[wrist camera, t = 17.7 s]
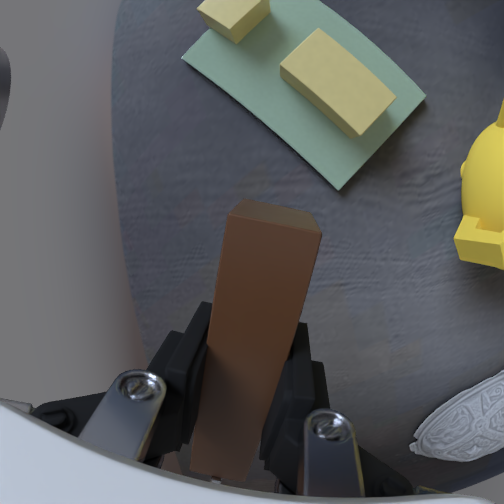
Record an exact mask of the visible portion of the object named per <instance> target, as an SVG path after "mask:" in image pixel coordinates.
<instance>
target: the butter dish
mask: <svg viewBox="0 0 504 504" xmlns="http://www.w3.org/2000/svg"><path fill="white" fill-rule="evenodd" d="M270 9H271V12H270V13H269V14H268V15H267V16H266V17H265V18H264V19H263V20H262V21H260V22H259V23H258V24H257V25H256V26H255V27H254V28H253V29H252V30H251V31H250V32H249V33H248V34H247V35H246V36H245V37H244V38H243V39H242V40H241V41H240V42H239V43H238V44H235V43H233V42H232V41H230V40H229V39H227V38H226V37H225V36H223V35H222V34H220V33H219V32H217V31H216V30H214V29H212V28H211V27H210V28H209V29H208V30H207V31H206V32H205V33H204V34H203V35H202V36H201V37H200V38H199V40H198V41H197V42H196V43H195V44H194V45H193V46H192V47H191V48H190V49H189V50H188V51H187V52H186V53H185V54H184V55H183V57H182V59H183V60H184V61H185V62H186V63H188V64H189V65H191V66H192V67H193V68H195V69H196V70H197V71H199V72H200V73H201V74H203V75H204V76H205V77H207V78H208V79H209V80H211V81H212V82H213V83H215V84H216V85H217V86H219V87H220V88H221V89H222V90H224V91H225V92H226V93H227V94H229V95H230V96H231V97H232V98H234V99H235V100H236V101H237V102H239V103H240V104H241V105H242V106H244V107H245V108H246V109H247V110H249V111H250V112H251V113H252V114H253V115H255V116H256V117H257V118H258V119H259V120H260V121H262V122H263V123H264V124H265V125H266V126H268V127H269V128H270V129H271V130H272V131H273V132H274V133H276V134H277V135H278V136H279V137H280V138H281V139H282V140H284V141H285V142H286V143H287V144H288V145H289V146H290V147H291V148H293V149H294V150H295V151H296V152H297V153H298V154H299V155H300V156H301V157H302V158H304V159H305V160H306V161H307V162H308V163H309V164H310V165H311V166H312V167H313V168H314V169H315V170H316V171H317V172H318V173H320V174H321V175H322V176H323V177H324V178H325V179H326V180H327V181H328V182H329V183H330V184H331V185H332V186H333V187H334V188H335V189H336V190H338V191H339V190H340V189H341V188H342V187H343V186H344V184H345V183H346V182H347V181H348V180H349V179H350V178H351V177H352V176H353V175H354V174H355V173H356V172H357V171H358V170H359V169H360V168H361V166H362V165H363V164H364V163H365V162H366V161H367V160H368V159H369V158H370V157H371V156H372V155H373V154H374V153H375V152H376V150H377V149H378V148H379V147H380V146H381V145H382V144H383V143H384V142H385V141H386V140H387V139H388V138H389V137H390V135H391V134H392V133H393V132H394V131H395V130H396V129H397V128H398V127H399V126H400V125H401V124H402V122H403V121H404V120H405V119H406V118H407V117H408V116H409V115H410V114H411V113H412V112H413V110H414V109H415V108H416V107H417V106H418V105H419V104H420V103H421V102H422V101H423V100H424V98H425V97H426V95H425V94H424V93H423V91H422V90H421V89H420V88H419V87H418V86H417V85H416V84H415V83H414V82H413V81H412V80H411V79H410V78H409V77H408V76H407V75H406V74H405V73H404V72H403V71H402V70H401V69H400V68H399V67H398V66H397V65H396V64H395V63H394V62H393V61H392V60H391V59H390V58H389V57H388V56H387V55H386V54H385V53H384V52H382V51H381V50H380V49H379V48H378V47H377V46H376V45H375V44H374V43H372V42H371V41H370V40H369V39H368V38H367V37H365V36H364V35H363V34H362V33H361V32H360V31H358V30H357V29H356V28H355V27H353V26H352V25H351V24H350V23H348V22H347V21H346V20H345V19H343V18H342V17H341V16H340V15H338V14H337V13H336V12H334V11H333V10H332V9H330V8H329V7H327V6H326V5H325V4H323V3H322V2H320V1H319V0H270ZM317 28H320V29H321V30H322V31H324V32H325V33H326V34H327V35H329V36H330V37H331V38H332V39H334V40H335V41H336V42H337V43H339V44H340V45H341V46H342V47H344V48H345V49H346V50H347V51H348V52H349V53H351V54H352V55H353V56H354V57H355V58H356V59H357V60H359V61H360V62H361V63H362V64H363V65H364V66H365V67H366V68H368V69H369V70H370V71H371V72H372V73H373V74H374V75H375V76H376V77H377V78H378V79H379V80H380V81H381V82H382V83H383V84H384V85H385V86H386V87H387V88H388V89H389V90H390V91H391V92H392V93H393V94H394V95H395V96H396V97H397V98H396V99H395V100H394V101H393V103H392V104H391V105H390V106H389V107H388V108H387V109H386V110H385V111H384V112H383V113H382V114H381V115H380V116H379V117H378V118H377V119H376V120H375V122H374V123H373V124H372V125H371V126H370V127H369V128H368V129H367V130H366V131H365V132H364V133H363V134H362V135H361V136H358V137H355V138H351V139H350V138H349V137H348V136H347V135H346V134H345V133H344V132H343V131H342V130H341V129H340V128H339V127H338V126H336V125H335V124H334V123H333V122H332V121H331V120H330V119H329V118H328V117H327V116H326V115H325V114H323V113H322V112H321V111H320V110H319V109H318V108H317V107H316V106H314V105H313V104H312V103H311V102H310V101H309V100H308V99H306V98H305V97H304V96H303V95H302V94H301V93H299V92H298V91H297V90H296V89H295V88H294V87H292V86H291V85H290V84H289V83H287V82H286V81H285V80H284V79H283V78H281V77H280V63H281V62H282V61H283V60H284V59H285V58H286V57H287V56H288V55H289V54H290V53H291V52H293V51H294V50H295V49H296V48H297V47H298V46H299V45H300V44H301V43H302V42H303V41H304V40H305V39H306V38H307V37H309V36H310V35H311V34H312V33H313V32H314V31H315V30H316V29H317Z"/></svg>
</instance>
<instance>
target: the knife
mask: <svg viewBox="0 0 504 504" xmlns="http://www.w3.org/2000/svg"><path fill="white" fill-rule="evenodd" d="M321 238H322V232H321V230H320V229H319V227H318V225H317V223H316V221H315V220H314V218H313V216H312V214H311V213H310V212H306V211H301V210H296V209H292V208H287V207H283V206H278V205H273V204H269V203H264V202H259V201H254V200H249V199H243V200H242V201H241V202H240V203H239V204H238V205H237V206H236V207H235V208H234V209H233V210H232V211H231V212H230V213H229V214H228V216H227V222H226V228H225V233H224V239H223V245H222V250H221V256H220V262H219V268H218V274H217V280H216V286H215V292H214V299H213V305H212V311H211V318H210V324H209V330H208V337H207V345H208V349H207V355H206V362H205V369H204V375H203V382H202V389H201V396H200V403H199V410H198V417H197V420H196V423H195V430H194V438H193V446H192V454H191V462H190V471H194V472H198V473H202V474H206V475H211V476H212V478H211V482H212V483H216V484H221V480H222V478H225V479H230V480H235V481H241V482H245V480H246V477H247V474H248V472H249V469H250V467H251V464H252V461H253V459H254V456H255V453H256V451H257V448H258V445H259V442H260V440H261V436H262V429H263V427H264V424H265V421H266V418H267V415H268V412H269V409H270V406H271V403H272V400H273V397H274V394H275V391H276V388H277V385H278V382H279V379H280V375H281V372H282V369H283V366H284V363H285V361H287V359H288V356H289V353H290V349H291V346H292V343H293V339H294V336H295V333H296V329H297V326H298V323H299V319H300V316H301V312H302V309H303V305H304V302H305V298H306V295H307V291H308V287H309V284H310V280H311V276H312V273H313V269H314V265H315V261H316V257H317V253H318V250H319V246H320V242H321Z"/></svg>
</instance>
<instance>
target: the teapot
mask: <svg viewBox="0 0 504 504" xmlns="http://www.w3.org/2000/svg"><path fill="white" fill-rule="evenodd" d="M461 177H462V188H461V202H462V211H463V218H462V221H461V223H460V225H459V227H458V230H457V232H456V234H455V236H454V242H455V245H456V248H457V251H458V255H459V258H460V260H464V261H469V262H473V263H478V264H483V265H488V266H493V267H497V268H499V269H501V270H504V100H503V103H502V106H501V110H500V113H499V116H498V119H497V121H496V122H495V123H493V124H491V125H490V126H488V127H487V128H486V129H485V130H484V131H483V132H482V133H481V134H480V135H479V136H478V137H477V139H476V140H475V142H474V143H473V145H472V147H471V149H470V151H469V154H468V157H467V159H466V161H465V162H464V163H463V164H462V166H461Z"/></svg>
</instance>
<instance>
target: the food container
mask: <svg viewBox="0 0 504 504" xmlns="http://www.w3.org/2000/svg"><path fill="white" fill-rule="evenodd" d="M414 432H415V431H414ZM413 435H414V437H415V438H416V439H418V441H416V444H415V442H414V443H412V444H410V445H409V447H410V450H411V451H414V450H415V454H422V455H424V456H428V457H435V458H438V459H442V460H450V461H459V462H464V461H472V460H475V459H478V458H480V457H482V456H484V455H486V454H491V453H494V452H496V451H498V450H499V449H501V448H503V447H504V370H502V371H501V372H500V373H498V374H497V375H495V376H493V377H491V378H488V379H486V380H485V381H482V382H481V383H479V384H478V385H475V386H474V387H473V388H471V389H467V390H465V391H462V392H461V393H459V394H458V395H456V396H455V397H453V398H452V399H449V401H448V402H446V403H444V404H443V405H442V406H440V407H439V408H437V409H436V410H435V412H433V413H432V414H431V415H429V416H428V418H426V420H425V421H424V422H423V423H422V424H421V425H420V427H419V428H418V429H417V431H416V433H415V434H413ZM415 447H416V448H415Z"/></svg>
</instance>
